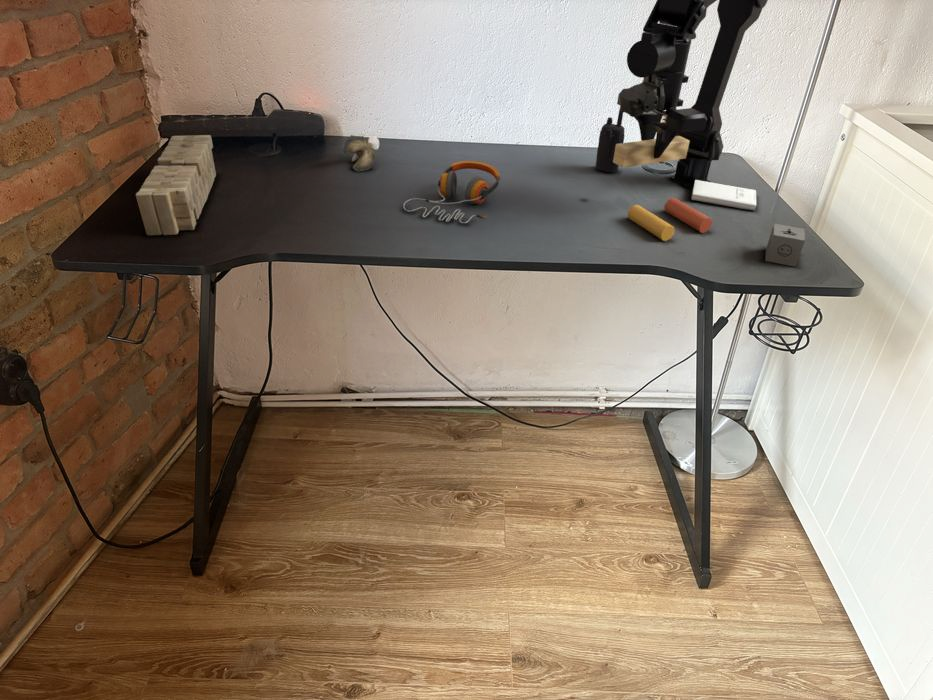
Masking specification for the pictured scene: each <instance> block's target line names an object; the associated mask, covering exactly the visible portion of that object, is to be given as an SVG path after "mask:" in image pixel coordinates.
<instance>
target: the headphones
mask: <svg viewBox="0 0 933 700" xmlns="http://www.w3.org/2000/svg"><path fill="white" fill-rule="evenodd" d="M468 169H469V170H477V171H483V172H486V173H488V174H490V175H492V176H493V177H494V179H495V181H494V182H493V184H492V185H491V186H489V184H488V182H486V181H485V179H484V178H483V177H481V176H474V177H472V179H470V180H469V182H468V184H467V185H466V188H465V191H464V198H465V199H463V200H460V201H455V202H444V201H445V200H446V197H447V198H448V199H449V200H451V199H452V200H453V199H454V198H455V197H456V195H457V189H458V177H457V173H456V171H459V170H468ZM500 181H501V176H500V172H499V170H498V169H497V168H496V167H494V166H492V165H491V164H488V163H486V162H480V161H475V160H463V161H457V162H453V163H452V164H450V165H449V166H447V168H445V169H444V171H443V172H442V174H441V175H440V179H439V180H438V182H437V191H438V194H439V195H440V197H442V198H443V199H440V200H430V199H428V198H426V199H425V198H418V197H414V198H410V199H407V200H405V202H403V206H402V207H403V209H404V211H406V212H408V213H412V212H415V211H417V210H421V209H425V210H424V211H423V214H422V218H427V216H429V215H430V214H431V212H433V210H434V209H436V208H438V209H437V210H436V211H435V212H434V215H435V216H439V215H440V216H439V217H438V221H440V222H443V221H444V220H445V222H446V223H449V222H450V221H451V219H452V218H453V217H454V218H453V220H454V221H456V220H458V222H459V223H460V224H468V223H469V222H470V221H471V220H472V218H473V217H476V218H479V219H484V220H485V219H487V218H488V217H487V216H483V215H480V214H473V215H471V216H470V217H469V219H468V220H467V221H461V220H462V218H463V217H464V215H465V212H464V211H463V212H461V211H462V209H461V208H457V209H455V210H454V211H453V213H452V214H450V213H447V214H446V215H445V213H446V209H441V206H440V205H456V204H461V203H463V202H467V203H468V204H471V205H475V204H478V205H481V204H482V203H483V202H484V201H485V200H486V199H487V197H488V195H490V194H492V192H493V191H495V189H496V188H497V187H498V186H499V183H500ZM415 200H419V201H424V202H426V203H433V204H439V205H434V206H433V207H432V208H431V209H430V210H429V211H428V208H427V207H426V206H419V207H416V208H415V209H411V210H408V209H407V208H406V207H405V205H406V204H407V203H408V202H410V201H415ZM440 209H441V211H440ZM427 211H428V212H427ZM457 211H458V212H457ZM456 212H457V213H456ZM454 214H455V215H454ZM444 215H445V216H444ZM441 218H442V219H441Z"/></svg>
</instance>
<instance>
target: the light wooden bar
mask: <svg viewBox="0 0 933 700" xmlns="http://www.w3.org/2000/svg"><path fill="white" fill-rule="evenodd" d="M655 142H656V138H654V139H651V140H644V141H641V140H636V141H629V142H624V143H620V144H616V147H615V153H614V159H613V162H614V163H615V164H617V165H619V167H620V168H628V167H636V166H642V165H651V164H657V163H664V162H670V161H671V162H672V161H679V159H685V158H686V155H687V151H688V146H689V142H690V141H689V140H687V139H685V138H683V137H681V136H676V137H675V138H674V139H673V140H672V142H671V143H670V144H669V146H668V147H667V148H666V150H665V151H664V152H663V154H662V155H661V156H660V158H656V159H655V158H654V149H655Z"/></svg>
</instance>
